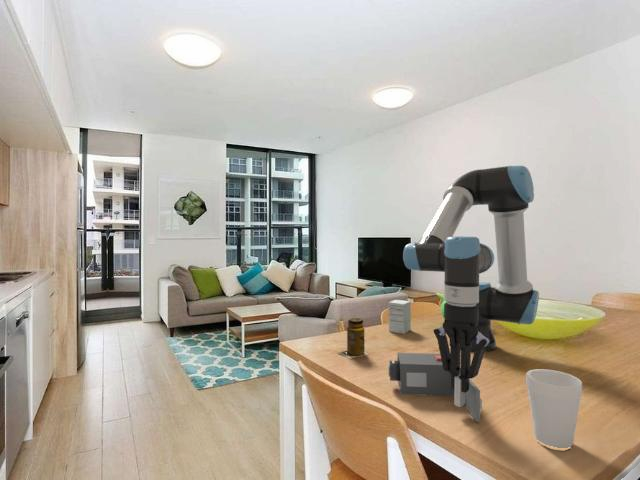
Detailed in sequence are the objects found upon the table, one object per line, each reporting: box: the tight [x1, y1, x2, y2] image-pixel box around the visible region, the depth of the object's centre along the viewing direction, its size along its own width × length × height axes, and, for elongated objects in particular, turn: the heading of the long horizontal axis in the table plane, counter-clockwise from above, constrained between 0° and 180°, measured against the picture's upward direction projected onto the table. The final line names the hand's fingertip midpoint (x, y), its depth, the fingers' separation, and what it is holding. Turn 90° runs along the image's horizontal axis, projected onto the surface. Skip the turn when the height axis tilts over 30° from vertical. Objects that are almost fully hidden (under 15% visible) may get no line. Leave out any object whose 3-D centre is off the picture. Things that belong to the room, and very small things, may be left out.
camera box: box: [388, 352, 455, 397], centre depth 101 cm, size 17×9×9 cm, turn 84°
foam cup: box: [525, 368, 583, 448], centre depth 74 cm, size 10×9×13 cm
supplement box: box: [388, 299, 412, 335], centre depth 159 cm, size 7×7×13 cm
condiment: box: [337, 317, 370, 359], centre depth 130 cm, size 7×8×12 cm
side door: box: [459, 367, 483, 423], centre depth 89 cm, size 14×2×7 cm, turn 176°
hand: (459, 403), depth 86 cm, fingers closed
